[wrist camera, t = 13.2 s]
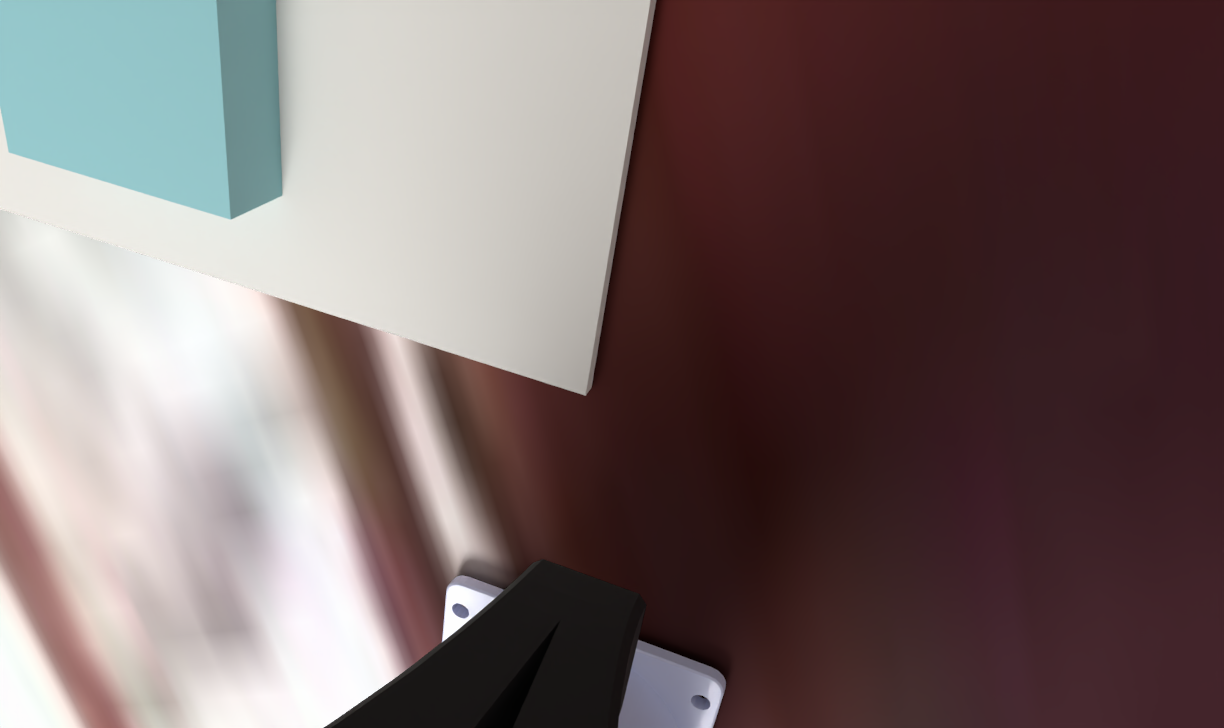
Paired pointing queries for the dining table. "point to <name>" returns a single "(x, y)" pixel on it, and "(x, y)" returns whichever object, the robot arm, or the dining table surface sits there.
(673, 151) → the dining table surface
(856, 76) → the dining table surface
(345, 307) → the mat
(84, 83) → the slab
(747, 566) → the dining table surface
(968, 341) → the dining table surface
